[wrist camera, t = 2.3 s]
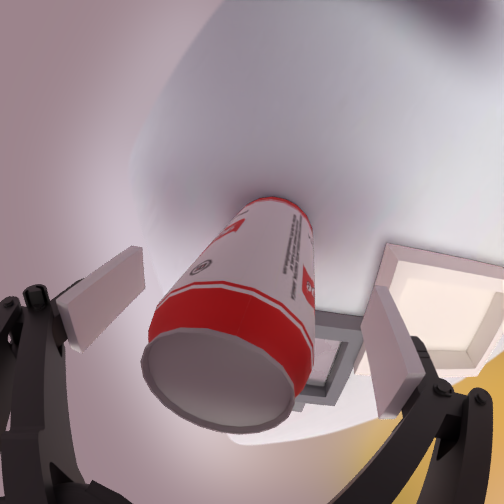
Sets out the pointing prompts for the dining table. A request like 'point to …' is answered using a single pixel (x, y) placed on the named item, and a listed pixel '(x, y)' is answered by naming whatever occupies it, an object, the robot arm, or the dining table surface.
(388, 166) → the dining table surface
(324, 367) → the plate
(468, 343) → the cream rectangular tray
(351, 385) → the dining table surface
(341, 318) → the frame
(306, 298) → the beer can
